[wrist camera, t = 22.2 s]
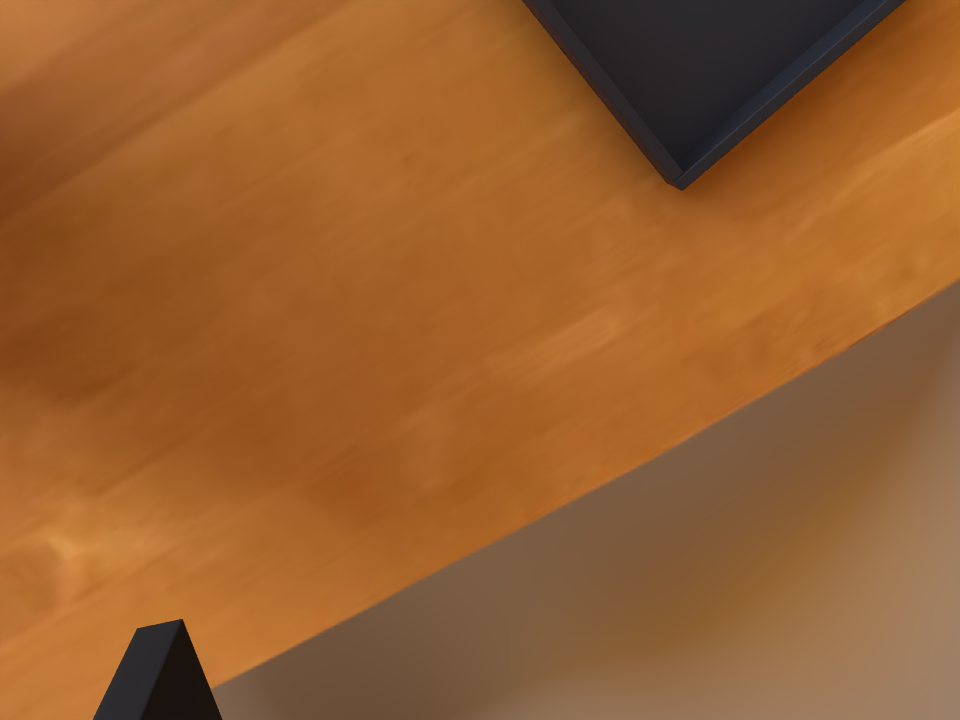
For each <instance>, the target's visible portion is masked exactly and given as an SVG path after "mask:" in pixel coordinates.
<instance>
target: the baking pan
mask: <svg viewBox="0 0 960 720" xmlns="http://www.w3.org/2000/svg"><path fill="white" fill-rule="evenodd" d="M522 1H523V2H524V3H525V4H526V6H527V7H528V8H529V9H530V11H531V12H532V13H533V15H534V16H535V17H536V18H537V20H538V21H539V22H540V23H541V25H542V26H543V27H544V28H545V30H546V31H547V32H548V33H549V35H550V36H551V37H552V39H553V40H554V41H555V42H556V44H557V45H558V46H559V47H560V49H561V50H562V51H563V52H564V54H565V55H566V56H567V57H568V59H569V60H570V61H571V63H572V64H573V65H574V66H575V68H576V69H577V70H578V71H579V73H580V74H581V75H582V76H583V78H584V79H585V80H586V81H587V83H588V84H589V85H590V87H591V88H592V89H593V90H594V92H595V93H596V94H597V95H598V97H599V98H600V99H601V100H602V102H603V103H604V104H605V105H606V107H607V108H608V109H609V111H610V112H611V113H612V114H613V116H614V117H615V118H616V119H617V121H618V122H619V123H620V124H621V126H622V127H623V128H624V129H625V131H626V132H627V133H628V135H629V136H630V137H631V138H632V140H633V141H634V142H635V143H636V145H637V146H638V147H639V148H640V150H641V151H642V152H643V153H644V155H645V156H646V157H647V159H648V160H649V161H650V162H651V164H652V165H653V166H654V167H655V169H656V170H657V171H658V172H659V174H660V175H661V176H662V177H663V179H664V180H665V181H666V183H668V184H670V185H672V186H674V187H676V188H678V189H680V190H682V191H683V190H684V189H685V188H686V187H688V186H689V185H690V184H691V183H692V182H693V181H695V180H696V179H697V178H698V177H699V176H700V175H702V174H703V173H704V172H705V171H706V170H708V169H709V168H710V167H711V166H712V165H713V164H715V163H716V162H717V161H718V160H719V159H720V158H722V157H723V156H724V155H725V154H726V153H727V152H729V151H730V150H731V149H732V148H733V147H734V146H736V145H737V144H738V143H739V142H740V141H741V140H743V139H744V138H745V137H746V136H747V135H749V134H750V133H751V132H752V131H753V130H754V129H756V128H757V127H758V126H759V125H760V124H761V123H763V122H764V121H765V120H766V119H767V118H768V117H770V116H771V115H772V114H773V113H774V112H775V111H777V110H778V109H779V108H780V107H781V106H782V105H784V104H785V103H786V102H787V101H788V100H789V99H791V98H792V97H793V96H794V95H795V94H797V93H798V92H799V91H800V90H801V89H802V88H804V87H805V86H806V85H807V84H808V83H809V82H811V81H812V80H813V79H814V78H815V77H816V76H818V75H819V74H820V73H821V72H822V71H823V70H825V69H826V68H827V67H828V66H829V65H830V64H832V63H833V62H834V61H835V60H836V59H838V58H839V57H840V56H841V55H842V54H843V53H845V52H846V51H847V50H848V49H849V48H850V47H852V46H853V45H854V44H855V43H856V42H857V41H859V40H860V39H861V38H862V37H863V36H864V35H866V34H867V33H868V32H869V31H870V30H871V29H873V28H874V27H875V26H876V25H877V24H879V23H880V22H881V21H882V20H883V19H884V18H886V17H887V16H888V15H889V14H890V13H891V12H893V11H894V10H895V9H896V8H897V7H898V6H900V5H901V4H902V3H903V2H904V1H905V0H522Z"/></svg>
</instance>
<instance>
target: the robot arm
mask: <svg viewBox="0 0 960 720" xmlns="http://www.w3.org/2000/svg"><path fill="white" fill-rule="evenodd" d="M93 720H222V718H221V715H220V712H219V710H218V708H217V705H216V702H215V700H214V697H213V695H212V692H211V690H210V687H209V685H208V682H207V680H206V677H205V675H204V672H203V669H202V667H201V664H200V662H199V659H198V657H197V654H196V652H195V649H194V647H193V644H192V642H191V639H190V637H189V634H188V632H187V629H186V627H185V624H184V622H183V619H180V620H175V621H170V622H165V623H161V624H156V625H151V626H147V627H142V628H137V630H136V632H135V634H134V636H133V638H132V640H131V642H130V644H129V646H128V648H127V650H126V652H125V654H124V656H123V659H122V661H121V663H120V665H119V667H118V669H117V671H116V673H115V675H114V677H113V679H112V681H111V683H110V685H109V687H108V689H107V691H106V693H105V695H104V698H103V700H102V702H101V704H100V706H99V708H98V710H97V712H96V714H95V716H94V718H93Z"/></svg>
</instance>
